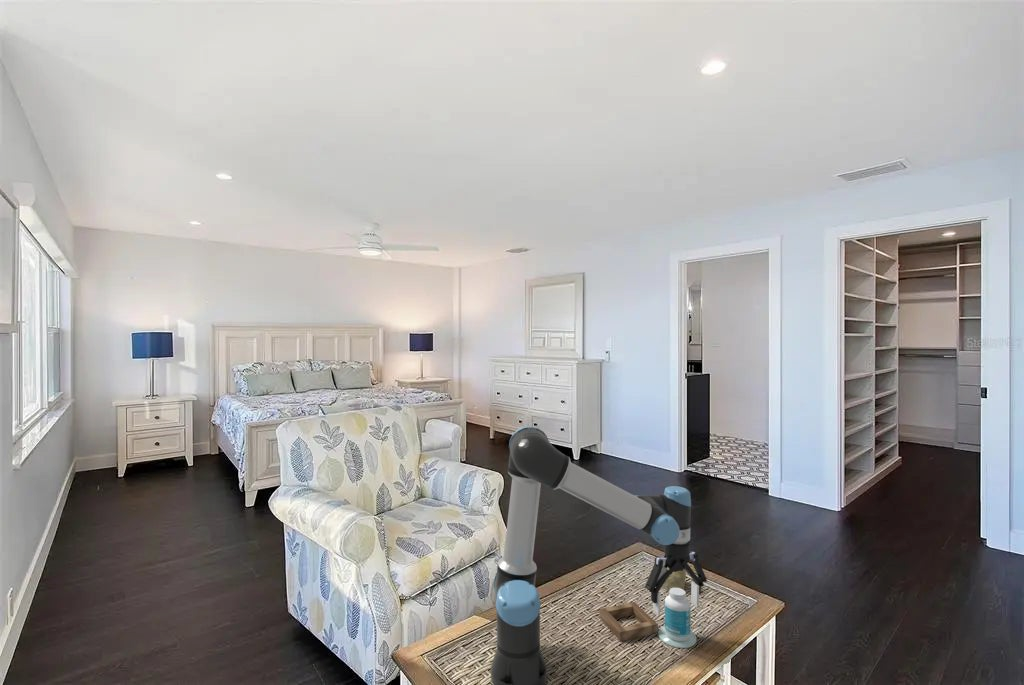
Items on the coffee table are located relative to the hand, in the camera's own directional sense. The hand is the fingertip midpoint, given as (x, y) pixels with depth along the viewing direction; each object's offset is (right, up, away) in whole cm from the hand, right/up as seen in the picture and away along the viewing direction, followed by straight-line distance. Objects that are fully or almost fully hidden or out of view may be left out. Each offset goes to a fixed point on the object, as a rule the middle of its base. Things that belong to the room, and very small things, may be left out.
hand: (676, 608), depth 152 cm
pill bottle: (+1, -8, 0) cm, 8 cm away
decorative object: (+9, -8, +30) cm, 32 cm away
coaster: (0, -9, 0) cm, 9 cm away
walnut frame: (-13, -9, +6) cm, 17 cm away
